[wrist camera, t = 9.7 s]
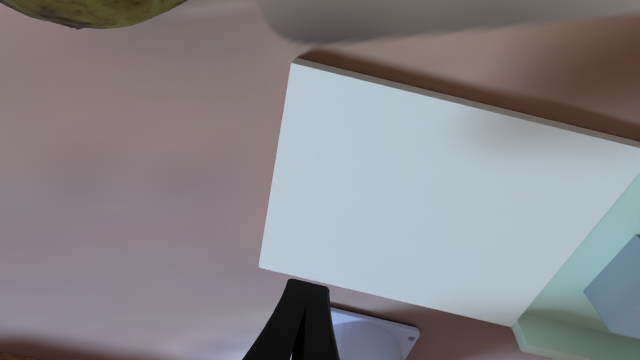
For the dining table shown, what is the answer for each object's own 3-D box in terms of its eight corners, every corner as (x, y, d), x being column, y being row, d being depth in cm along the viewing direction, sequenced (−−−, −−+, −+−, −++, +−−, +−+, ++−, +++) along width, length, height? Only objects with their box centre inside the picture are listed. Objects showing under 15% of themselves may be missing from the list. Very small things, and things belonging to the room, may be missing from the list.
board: (505, 312, 25) (511, 327, 24) (263, 255, 25) (258, 267, 24) (639, 141, 18) (656, 152, 16) (295, 57, 17) (291, 62, 16)
